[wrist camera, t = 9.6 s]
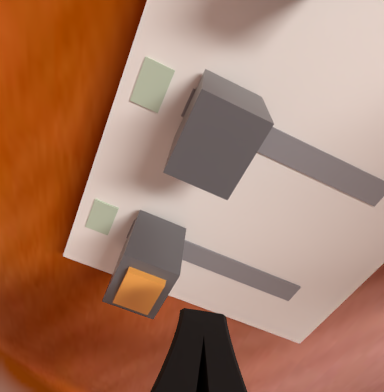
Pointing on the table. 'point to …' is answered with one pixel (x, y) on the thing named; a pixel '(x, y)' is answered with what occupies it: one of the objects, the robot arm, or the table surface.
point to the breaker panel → (262, 162)
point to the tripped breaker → (147, 265)
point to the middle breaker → (218, 136)
